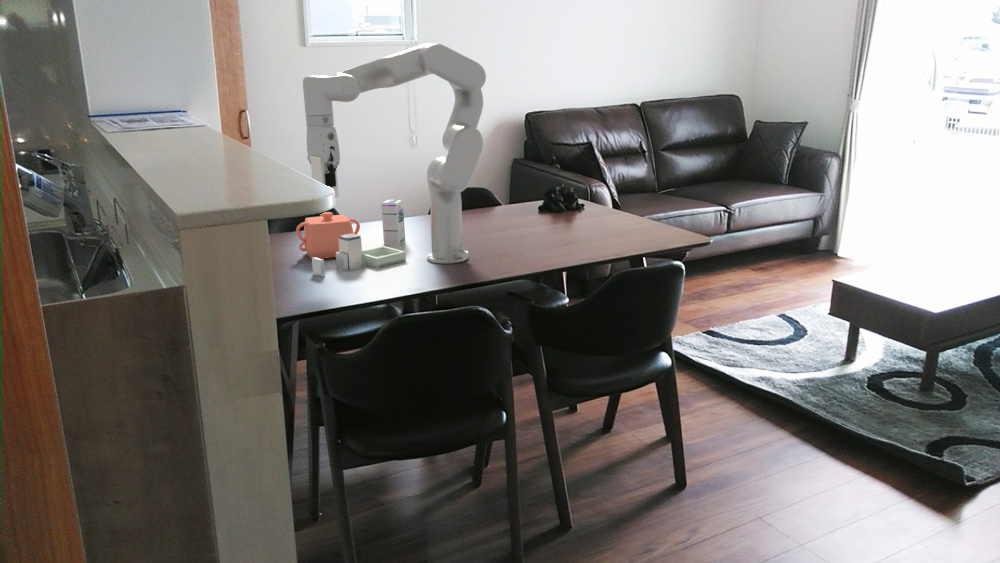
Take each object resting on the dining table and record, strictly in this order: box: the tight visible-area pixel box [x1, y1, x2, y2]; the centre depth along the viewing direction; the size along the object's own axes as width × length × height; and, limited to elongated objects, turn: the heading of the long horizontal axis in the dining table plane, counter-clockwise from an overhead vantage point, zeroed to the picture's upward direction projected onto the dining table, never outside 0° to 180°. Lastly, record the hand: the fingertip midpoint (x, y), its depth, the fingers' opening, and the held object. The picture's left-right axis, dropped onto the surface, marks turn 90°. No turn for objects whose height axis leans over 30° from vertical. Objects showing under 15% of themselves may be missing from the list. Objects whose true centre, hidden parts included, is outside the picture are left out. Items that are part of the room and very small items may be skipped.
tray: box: [364, 245, 407, 269], centre depth 245 cm, size 11×11×3 cm
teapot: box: [295, 211, 361, 260], centre depth 255 cm, size 20×19×14 cm
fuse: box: [310, 155, 339, 198], centre depth 226 cm, size 5×5×12 cm
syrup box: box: [380, 199, 406, 246], centre depth 265 cm, size 6×6×14 cm
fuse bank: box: [311, 232, 367, 278], centre depth 235 cm, size 5×16×10 cm, turn 135°
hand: (325, 185), depth 227 cm, fingers closed on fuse, 5 cm apart
